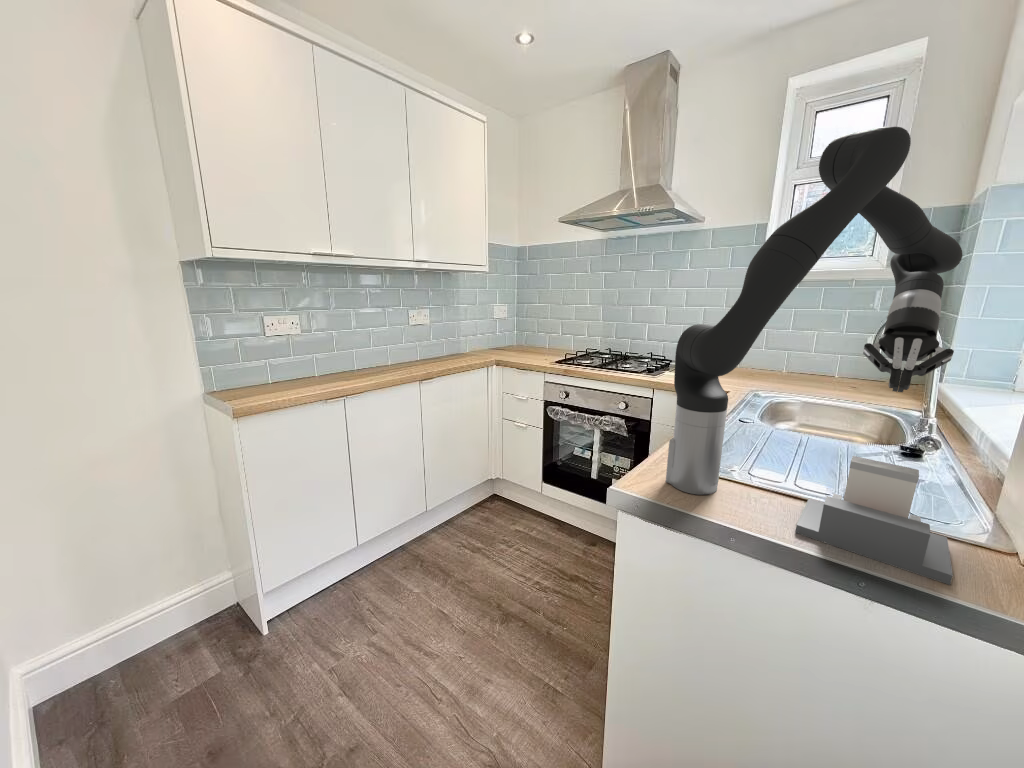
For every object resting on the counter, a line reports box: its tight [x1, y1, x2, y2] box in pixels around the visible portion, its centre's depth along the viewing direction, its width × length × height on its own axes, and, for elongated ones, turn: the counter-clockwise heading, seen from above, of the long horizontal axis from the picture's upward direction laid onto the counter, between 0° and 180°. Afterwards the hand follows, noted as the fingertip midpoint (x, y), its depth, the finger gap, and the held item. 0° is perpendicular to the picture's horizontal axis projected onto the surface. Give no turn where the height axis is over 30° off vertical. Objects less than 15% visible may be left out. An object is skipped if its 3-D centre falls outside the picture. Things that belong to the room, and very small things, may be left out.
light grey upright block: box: [842, 455, 920, 518], centre depth 67 cm, size 8×3×10 cm, turn 46°
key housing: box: [794, 493, 954, 586], centre depth 66 cm, size 18×12×6 cm, turn 46°
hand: (898, 389), depth 75 cm, fingers closed
